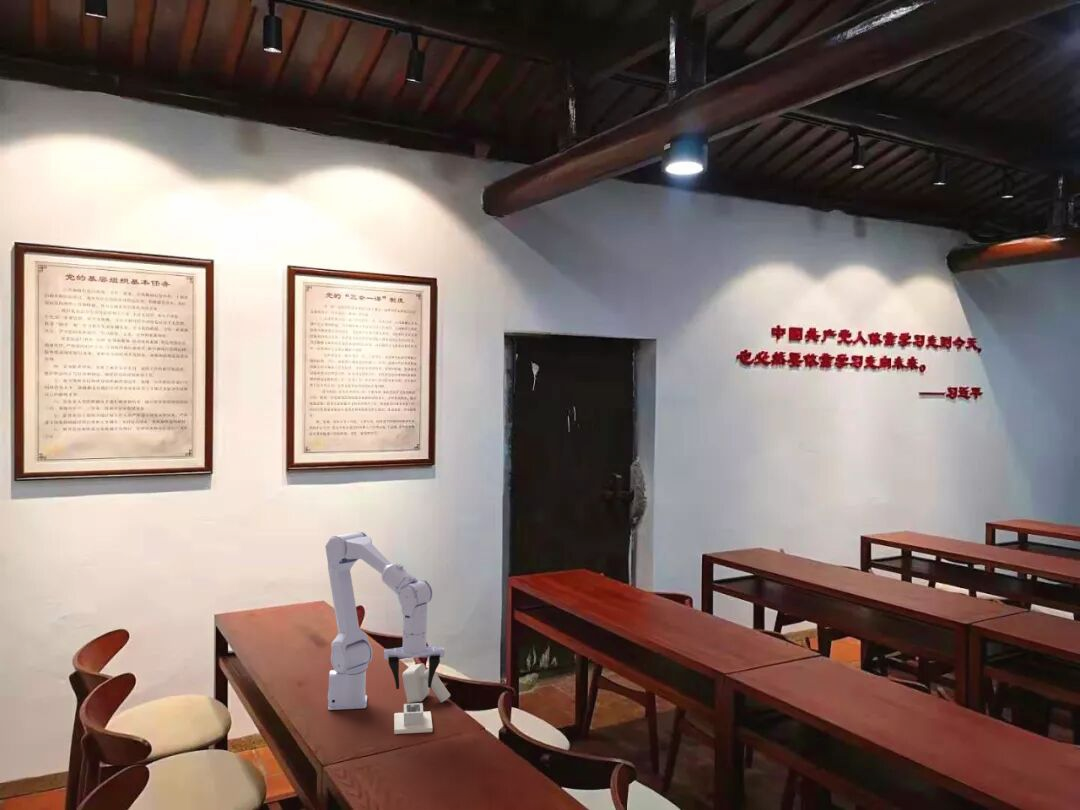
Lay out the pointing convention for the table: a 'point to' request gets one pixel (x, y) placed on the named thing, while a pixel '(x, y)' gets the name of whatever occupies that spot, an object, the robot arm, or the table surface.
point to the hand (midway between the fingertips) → (413, 686)
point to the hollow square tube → (413, 715)
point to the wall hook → (422, 684)
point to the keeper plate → (401, 729)
